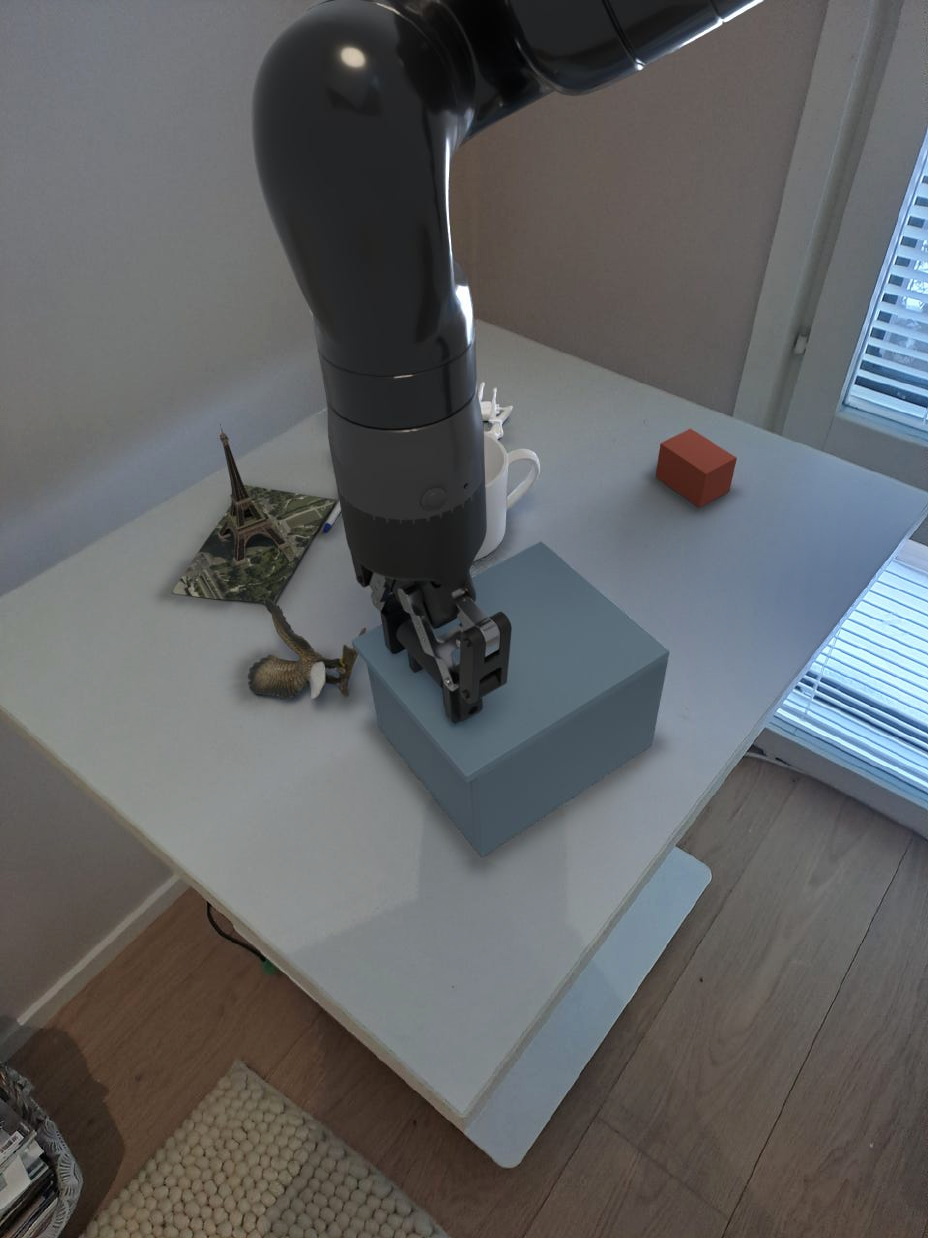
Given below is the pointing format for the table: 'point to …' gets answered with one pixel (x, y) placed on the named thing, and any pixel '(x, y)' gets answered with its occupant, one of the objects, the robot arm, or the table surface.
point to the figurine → (493, 413)
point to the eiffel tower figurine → (253, 542)
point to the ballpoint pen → (332, 517)
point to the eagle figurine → (298, 664)
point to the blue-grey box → (528, 760)
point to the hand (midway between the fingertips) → (432, 677)
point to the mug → (502, 488)
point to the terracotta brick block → (695, 467)
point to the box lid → (520, 660)
